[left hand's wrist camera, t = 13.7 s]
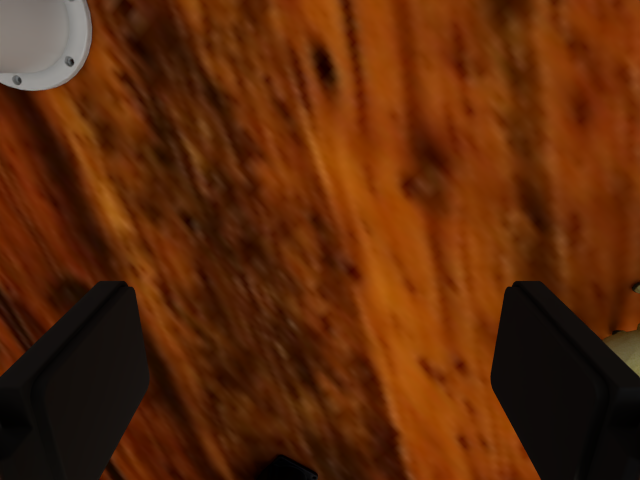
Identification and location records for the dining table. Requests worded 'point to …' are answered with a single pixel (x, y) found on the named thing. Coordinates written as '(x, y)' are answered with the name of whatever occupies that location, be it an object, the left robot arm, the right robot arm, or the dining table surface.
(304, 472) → the right robot arm
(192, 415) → the dining table surface
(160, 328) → the dining table surface
